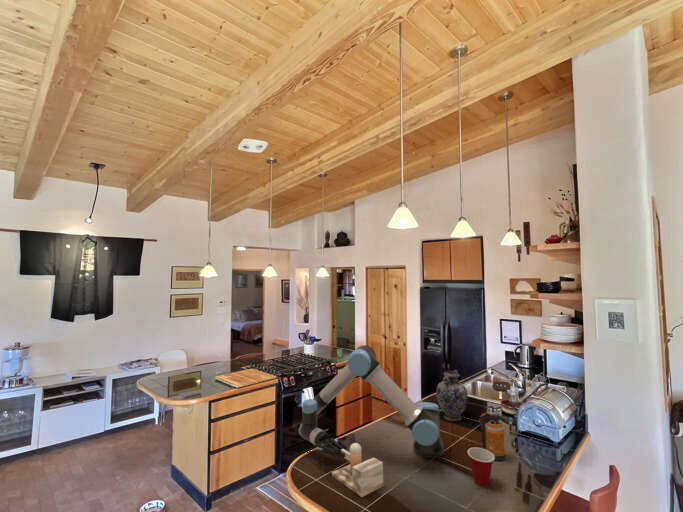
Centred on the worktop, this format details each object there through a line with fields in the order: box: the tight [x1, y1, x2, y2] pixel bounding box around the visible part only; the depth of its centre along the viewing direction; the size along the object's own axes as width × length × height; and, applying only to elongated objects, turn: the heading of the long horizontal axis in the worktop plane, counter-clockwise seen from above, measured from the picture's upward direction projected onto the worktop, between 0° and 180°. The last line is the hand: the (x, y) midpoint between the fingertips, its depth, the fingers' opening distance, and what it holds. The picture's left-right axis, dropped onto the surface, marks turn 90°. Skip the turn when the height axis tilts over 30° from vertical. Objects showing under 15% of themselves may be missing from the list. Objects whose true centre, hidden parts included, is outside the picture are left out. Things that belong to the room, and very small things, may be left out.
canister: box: [479, 412, 507, 461], centre depth 170 cm, size 9×11×20 cm
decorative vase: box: [435, 369, 469, 422], centre depth 218 cm, size 21×19×28 cm
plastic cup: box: [467, 446, 495, 487], centre depth 149 cm, size 11×11×12 cm
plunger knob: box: [349, 442, 363, 476], centre depth 152 cm, size 5×5×14 cm
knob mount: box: [331, 457, 384, 498], centre depth 152 cm, size 20×12×10 cm, turn 38°
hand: (351, 457), depth 154 cm, fingers closed
